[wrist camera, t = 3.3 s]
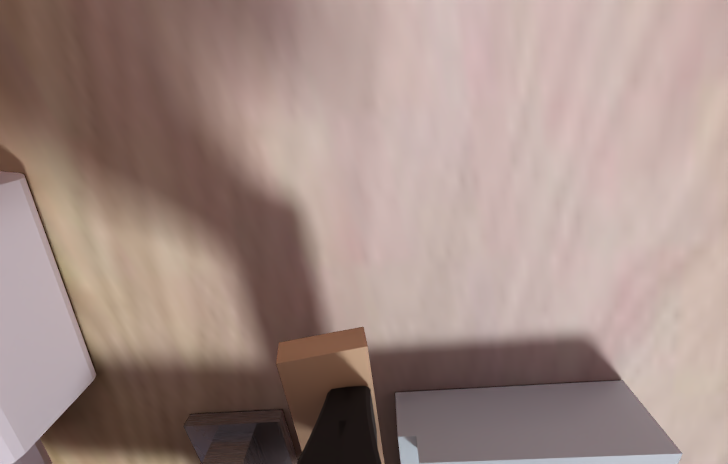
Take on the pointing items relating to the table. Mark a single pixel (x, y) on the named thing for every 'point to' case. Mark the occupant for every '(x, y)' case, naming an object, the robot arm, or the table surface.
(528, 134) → the table surface
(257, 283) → the table surface
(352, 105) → the table surface
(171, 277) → the table surface
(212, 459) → the fulcrum
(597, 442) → the dish
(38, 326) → the charger
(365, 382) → the lever
